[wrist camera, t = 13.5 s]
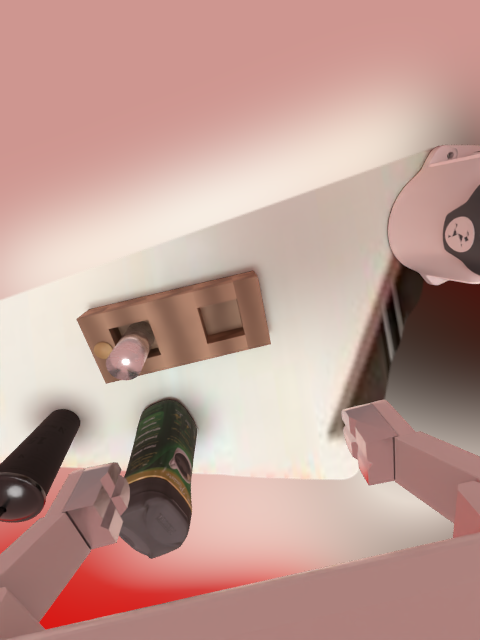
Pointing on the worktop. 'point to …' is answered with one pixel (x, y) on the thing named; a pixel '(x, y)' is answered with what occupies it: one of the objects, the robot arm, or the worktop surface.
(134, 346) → the pin
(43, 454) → the drinking cup
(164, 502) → the coffee jar
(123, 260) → the worktop surface
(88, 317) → the board
